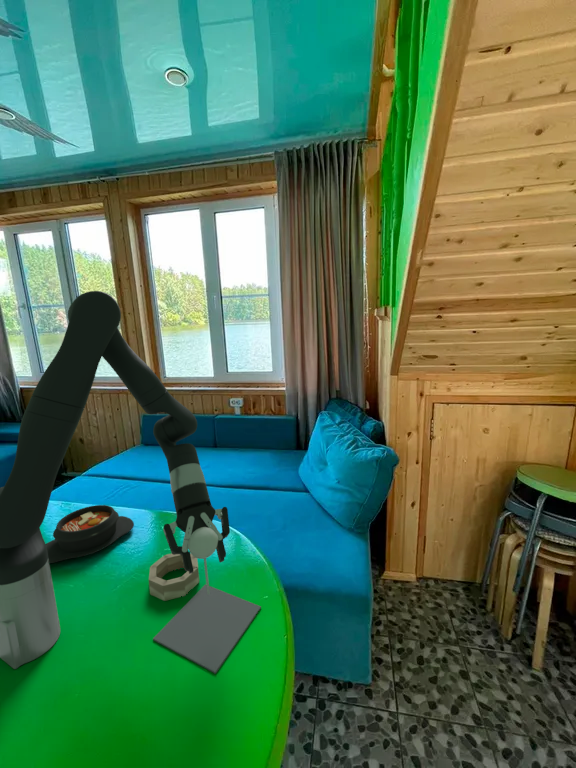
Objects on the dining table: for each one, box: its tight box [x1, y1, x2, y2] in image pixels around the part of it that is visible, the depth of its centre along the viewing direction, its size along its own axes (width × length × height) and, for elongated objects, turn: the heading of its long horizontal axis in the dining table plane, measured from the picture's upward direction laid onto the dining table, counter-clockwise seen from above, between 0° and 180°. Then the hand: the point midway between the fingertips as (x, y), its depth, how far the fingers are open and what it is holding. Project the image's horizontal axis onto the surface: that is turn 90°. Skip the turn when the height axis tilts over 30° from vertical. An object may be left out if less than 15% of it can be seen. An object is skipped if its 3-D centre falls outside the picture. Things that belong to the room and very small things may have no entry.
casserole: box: [45, 504, 135, 564], centre depth 100 cm, size 25×19×8 cm
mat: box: [152, 583, 262, 675], centre depth 71 cm, size 16×16×1 cm
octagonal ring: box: [148, 553, 200, 602], centre depth 83 cm, size 12×11×4 cm
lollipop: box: [188, 527, 218, 594], centre depth 69 cm, size 6×6×15 cm
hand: (207, 566), depth 67 cm, fingers closed on lollipop, 5 cm apart
